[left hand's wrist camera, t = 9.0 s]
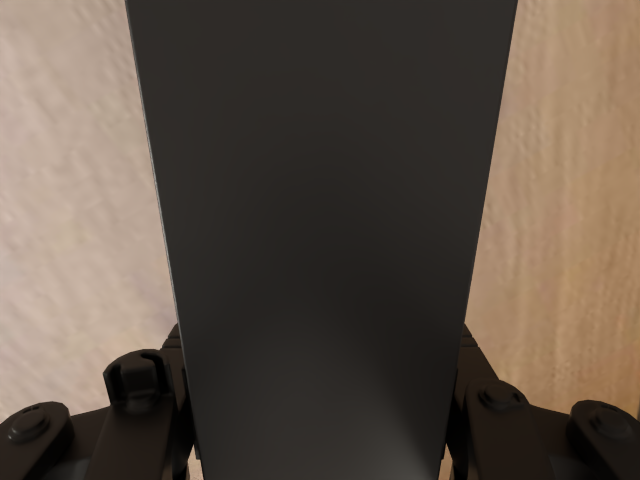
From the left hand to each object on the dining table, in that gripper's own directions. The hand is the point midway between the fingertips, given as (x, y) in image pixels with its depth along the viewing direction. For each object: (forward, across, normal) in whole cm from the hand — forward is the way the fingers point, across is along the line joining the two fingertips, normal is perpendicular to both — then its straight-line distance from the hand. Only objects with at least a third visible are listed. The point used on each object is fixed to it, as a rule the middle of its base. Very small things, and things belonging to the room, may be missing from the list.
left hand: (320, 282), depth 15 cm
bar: (+1, 0, -10) cm, 10 cm away
